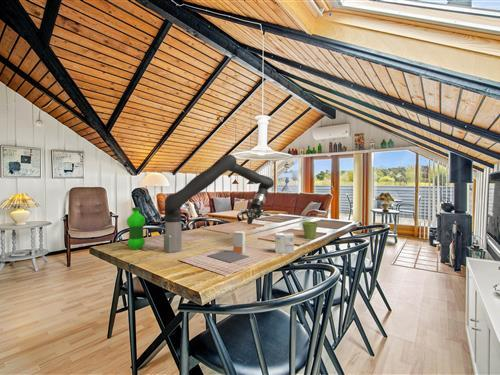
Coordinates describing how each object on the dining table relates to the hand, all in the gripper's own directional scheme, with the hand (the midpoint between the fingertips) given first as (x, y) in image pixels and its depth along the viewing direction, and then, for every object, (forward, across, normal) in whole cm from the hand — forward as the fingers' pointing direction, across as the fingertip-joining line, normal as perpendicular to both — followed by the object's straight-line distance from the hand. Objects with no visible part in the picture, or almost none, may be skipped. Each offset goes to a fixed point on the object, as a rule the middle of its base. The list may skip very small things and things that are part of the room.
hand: (248, 223), depth 154 cm
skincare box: (+19, 0, +4) cm, 19 cm away
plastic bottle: (+36, -60, -13) cm, 71 cm away
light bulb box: (+8, +22, +14) cm, 27 cm away
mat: (+26, -1, -4) cm, 26 cm away
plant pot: (-23, +23, +45) cm, 56 cm away
